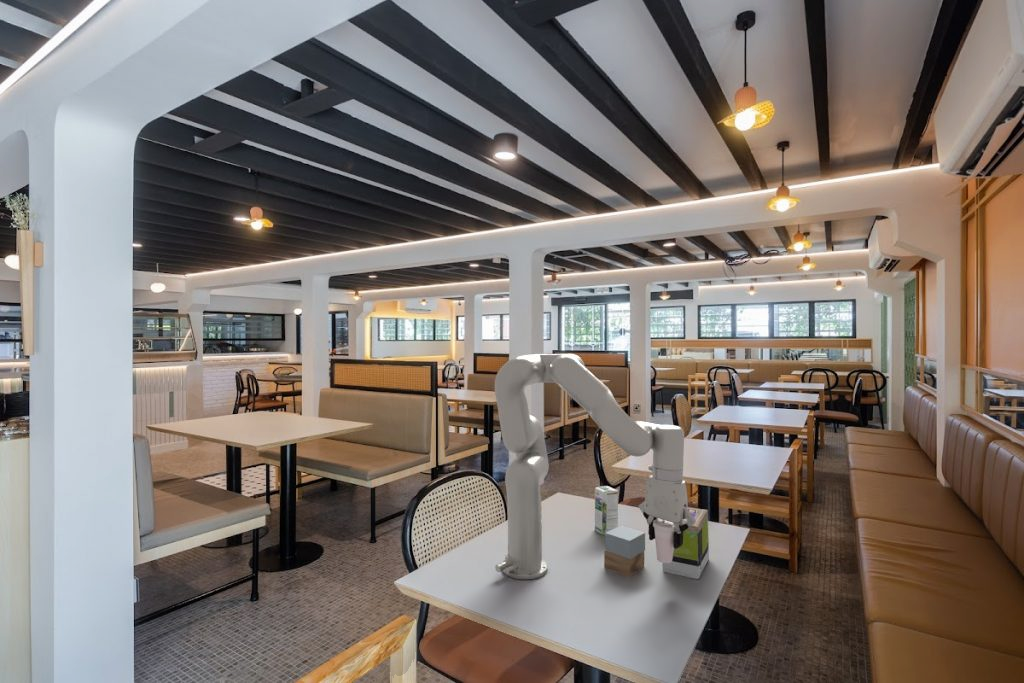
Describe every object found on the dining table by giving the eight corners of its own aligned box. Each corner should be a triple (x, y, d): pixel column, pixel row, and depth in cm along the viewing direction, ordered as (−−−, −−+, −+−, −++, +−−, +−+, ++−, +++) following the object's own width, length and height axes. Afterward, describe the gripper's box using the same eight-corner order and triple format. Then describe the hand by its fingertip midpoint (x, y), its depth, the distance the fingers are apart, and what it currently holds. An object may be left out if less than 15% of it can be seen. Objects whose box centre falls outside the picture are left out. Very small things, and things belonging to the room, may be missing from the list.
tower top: (629, 559, 141) (629, 540, 141) (605, 550, 147) (605, 532, 147) (645, 550, 147) (645, 532, 147) (620, 542, 153) (620, 525, 153)
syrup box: (593, 530, 175) (593, 487, 174) (608, 527, 177) (608, 485, 177) (603, 536, 169) (603, 492, 169) (618, 533, 172) (618, 489, 172)
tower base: (628, 577, 141) (628, 559, 141) (604, 568, 147) (604, 550, 147) (644, 567, 147) (644, 550, 147) (620, 559, 153) (620, 542, 153)
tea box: (674, 552, 157) (674, 503, 157) (709, 559, 152) (709, 509, 152) (661, 572, 144) (661, 519, 144) (699, 580, 139) (699, 525, 139)
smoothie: (657, 552, 139) (659, 500, 139) (681, 559, 135) (683, 506, 134) (647, 560, 134) (649, 506, 134) (671, 568, 130) (673, 512, 130)
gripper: (630, 469, 137) (628, 536, 138) (692, 484, 125) (690, 558, 126) (645, 464, 143) (643, 529, 143) (706, 478, 130) (704, 549, 131)
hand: (665, 542), depth 134 cm, fingers closed on smoothie, 6 cm apart
